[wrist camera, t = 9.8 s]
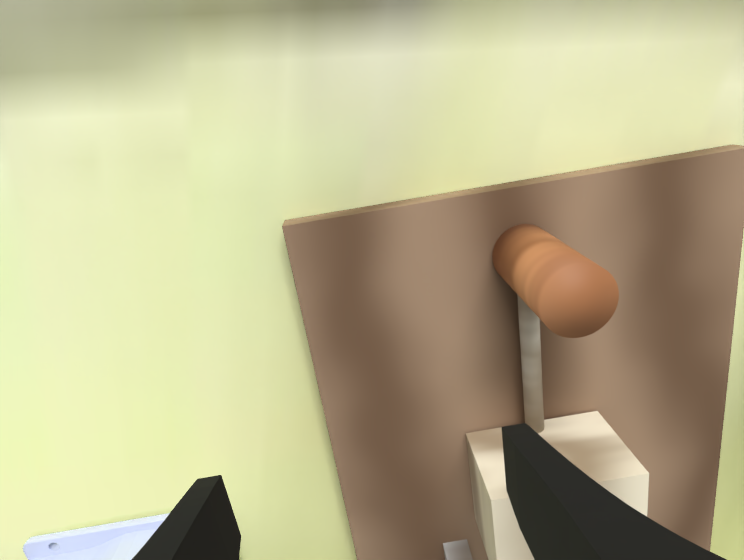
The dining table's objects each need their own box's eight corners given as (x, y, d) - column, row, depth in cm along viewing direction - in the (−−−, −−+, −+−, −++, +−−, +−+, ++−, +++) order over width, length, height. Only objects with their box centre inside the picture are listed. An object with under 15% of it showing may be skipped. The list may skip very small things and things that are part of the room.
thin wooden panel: (405, 763, 32) (411, 815, 30) (284, 220, 20) (277, 236, 17) (680, 715, 32) (707, 763, 30) (732, 144, 20) (785, 150, 18)
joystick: (475, 518, 24) (507, 619, 19) (443, 237, 19) (477, 281, 15) (597, 497, 24) (659, 592, 20) (597, 211, 19) (680, 247, 15)
